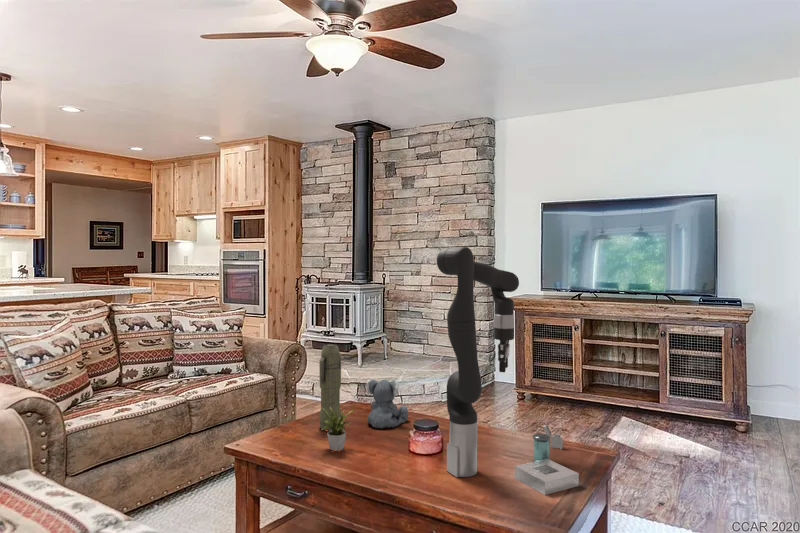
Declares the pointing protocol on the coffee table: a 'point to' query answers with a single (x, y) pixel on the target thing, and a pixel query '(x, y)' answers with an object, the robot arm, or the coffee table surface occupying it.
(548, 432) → the lighter
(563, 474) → the bore housing
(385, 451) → the coffee table surface
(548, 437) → the cover plug
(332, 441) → the house plant
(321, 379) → the thermos
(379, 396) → the koala plush
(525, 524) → the coffee table surface
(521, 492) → the coffee table surface
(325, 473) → the coffee table surface
